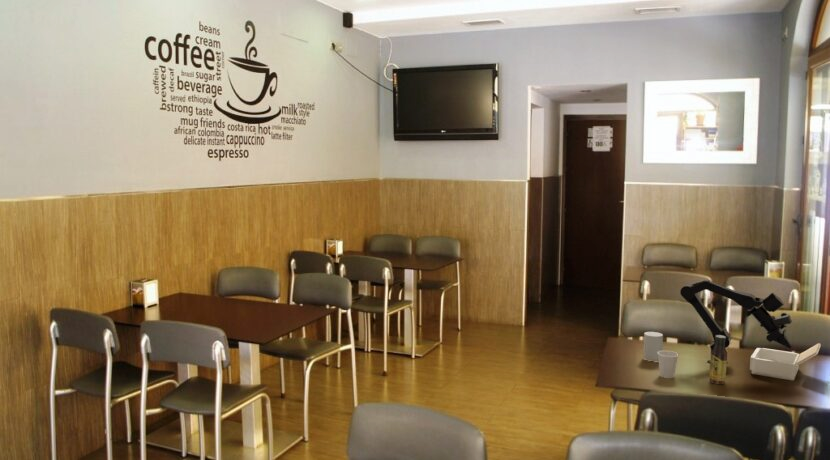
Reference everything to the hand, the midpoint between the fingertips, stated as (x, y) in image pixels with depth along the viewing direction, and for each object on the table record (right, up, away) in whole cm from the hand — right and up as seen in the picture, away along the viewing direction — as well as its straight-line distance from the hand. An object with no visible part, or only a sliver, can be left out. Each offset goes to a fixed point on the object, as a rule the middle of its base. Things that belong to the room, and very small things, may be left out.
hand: (791, 347), depth 292 cm
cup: (-52, -9, +22) cm, 57 cm away
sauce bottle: (-36, -13, -10) cm, 39 cm away
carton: (-4, -11, +4) cm, 13 cm away
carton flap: (+5, -2, -3) cm, 7 cm away
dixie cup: (-54, -12, -2) cm, 55 cm away
